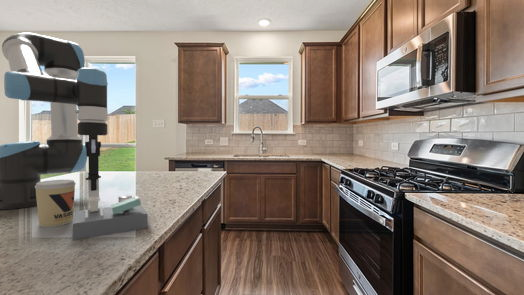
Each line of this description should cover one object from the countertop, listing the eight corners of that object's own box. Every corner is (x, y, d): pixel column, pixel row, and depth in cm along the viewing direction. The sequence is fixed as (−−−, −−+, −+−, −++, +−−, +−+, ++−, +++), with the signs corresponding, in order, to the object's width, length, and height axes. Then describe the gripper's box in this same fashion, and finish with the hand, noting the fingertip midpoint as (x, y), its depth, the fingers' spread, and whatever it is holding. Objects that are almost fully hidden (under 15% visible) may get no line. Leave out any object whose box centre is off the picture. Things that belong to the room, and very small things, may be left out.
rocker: (112, 211, 74) (110, 204, 74) (139, 201, 78) (137, 195, 77) (113, 214, 71) (111, 207, 70) (141, 204, 74) (139, 197, 74)
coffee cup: (54, 229, 72) (53, 185, 72) (26, 226, 74) (25, 183, 74) (83, 219, 82) (83, 180, 81) (58, 217, 83) (57, 178, 83)
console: (75, 225, 76) (75, 208, 76) (140, 216, 85) (140, 201, 85) (72, 239, 65) (72, 220, 65) (147, 227, 74) (147, 210, 74)
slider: (88, 209, 76) (87, 197, 76) (99, 208, 78) (99, 196, 78) (88, 212, 74) (87, 199, 73) (99, 211, 75) (99, 198, 75)
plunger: (118, 206, 80) (118, 196, 80) (131, 204, 82) (131, 195, 82) (119, 208, 77) (119, 198, 77) (132, 207, 79) (132, 197, 79)
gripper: (78, 122, 83) (79, 198, 83) (76, 120, 72) (77, 207, 73) (106, 123, 87) (106, 195, 88) (108, 121, 76) (109, 203, 77)
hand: (93, 200), depth 80 cm, fingers closed
